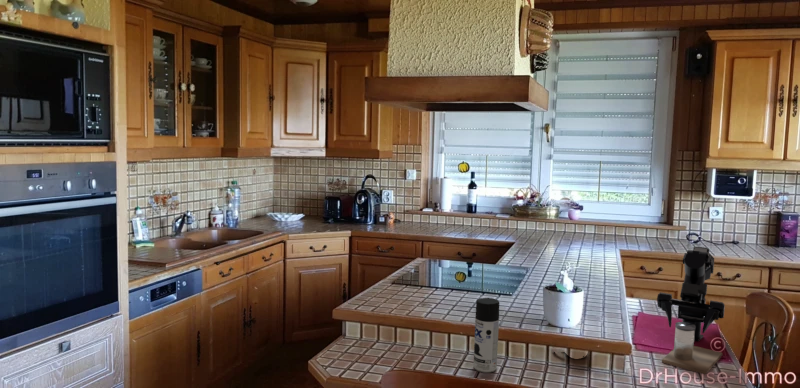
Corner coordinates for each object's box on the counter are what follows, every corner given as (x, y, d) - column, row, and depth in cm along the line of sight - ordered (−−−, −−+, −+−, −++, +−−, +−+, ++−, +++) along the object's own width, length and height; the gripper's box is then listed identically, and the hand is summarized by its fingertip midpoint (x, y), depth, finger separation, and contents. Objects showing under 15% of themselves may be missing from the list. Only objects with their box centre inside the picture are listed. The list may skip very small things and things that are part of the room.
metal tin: (672, 352, 186) (674, 320, 185) (692, 354, 184) (694, 323, 183) (673, 358, 181) (676, 326, 180) (693, 361, 179) (696, 329, 178)
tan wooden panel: (680, 345, 194) (681, 342, 194) (722, 356, 187) (722, 352, 186) (661, 362, 181) (662, 359, 181) (705, 374, 173) (705, 371, 173)
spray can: (469, 365, 176) (471, 298, 173) (489, 361, 179) (491, 296, 176) (480, 374, 170) (483, 305, 167) (501, 371, 173) (504, 303, 170)
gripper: (660, 267, 192) (651, 311, 184) (727, 276, 182) (721, 323, 174) (662, 285, 199) (654, 328, 192) (726, 295, 190) (720, 340, 182)
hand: (686, 329), depth 185 cm, fingers open, 9 cm apart
